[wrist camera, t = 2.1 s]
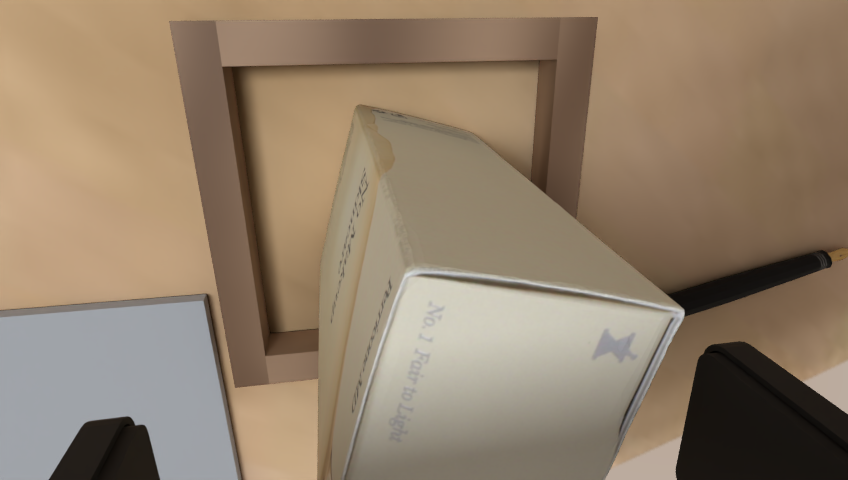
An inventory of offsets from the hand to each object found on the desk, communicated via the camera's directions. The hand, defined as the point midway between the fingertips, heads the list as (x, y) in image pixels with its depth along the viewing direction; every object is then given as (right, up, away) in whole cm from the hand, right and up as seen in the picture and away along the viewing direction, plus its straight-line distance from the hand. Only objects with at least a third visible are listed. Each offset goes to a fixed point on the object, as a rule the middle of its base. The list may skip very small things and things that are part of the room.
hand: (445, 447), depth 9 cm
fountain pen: (+11, +1, +14) cm, 18 cm away
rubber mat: (-14, -4, +12) cm, 19 cm away
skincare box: (-1, +5, +10) cm, 11 cm away
